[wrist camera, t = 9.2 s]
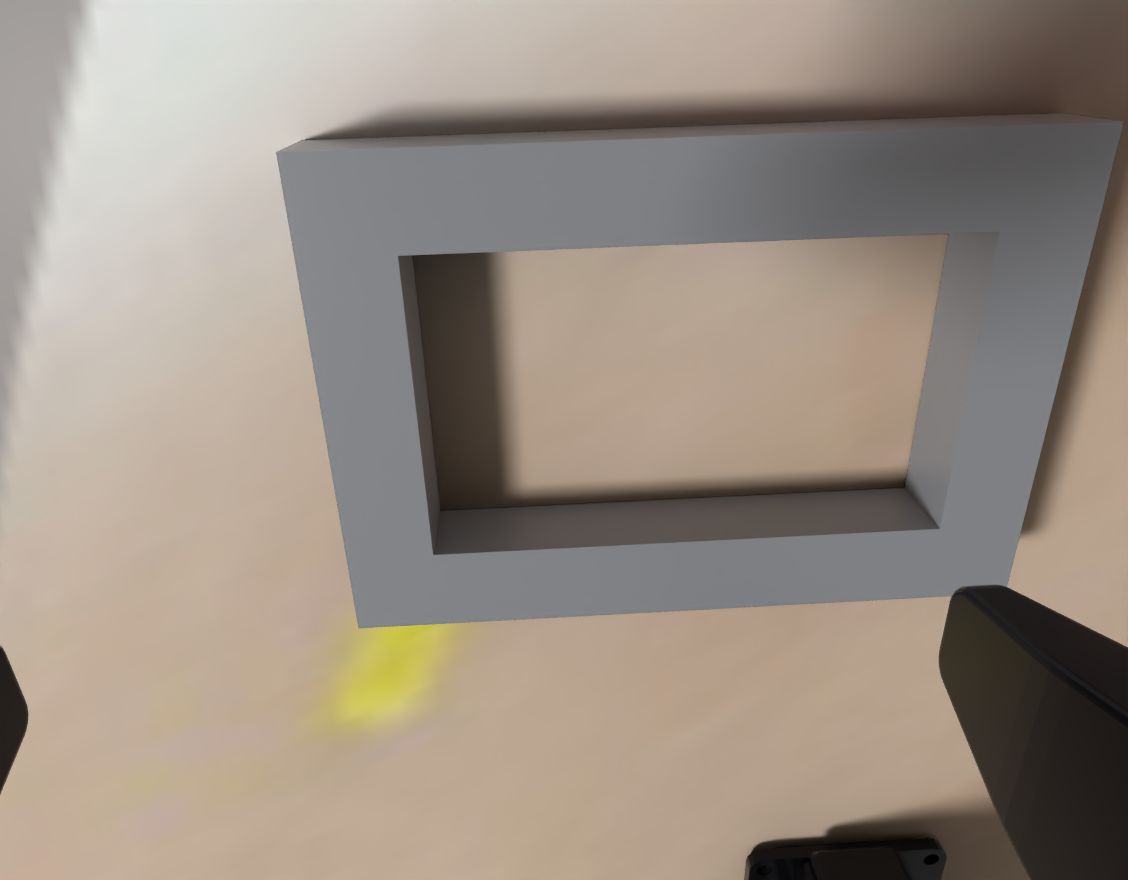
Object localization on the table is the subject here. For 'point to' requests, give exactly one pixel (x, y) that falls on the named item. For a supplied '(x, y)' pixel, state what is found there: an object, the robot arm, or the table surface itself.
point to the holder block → (696, 216)
